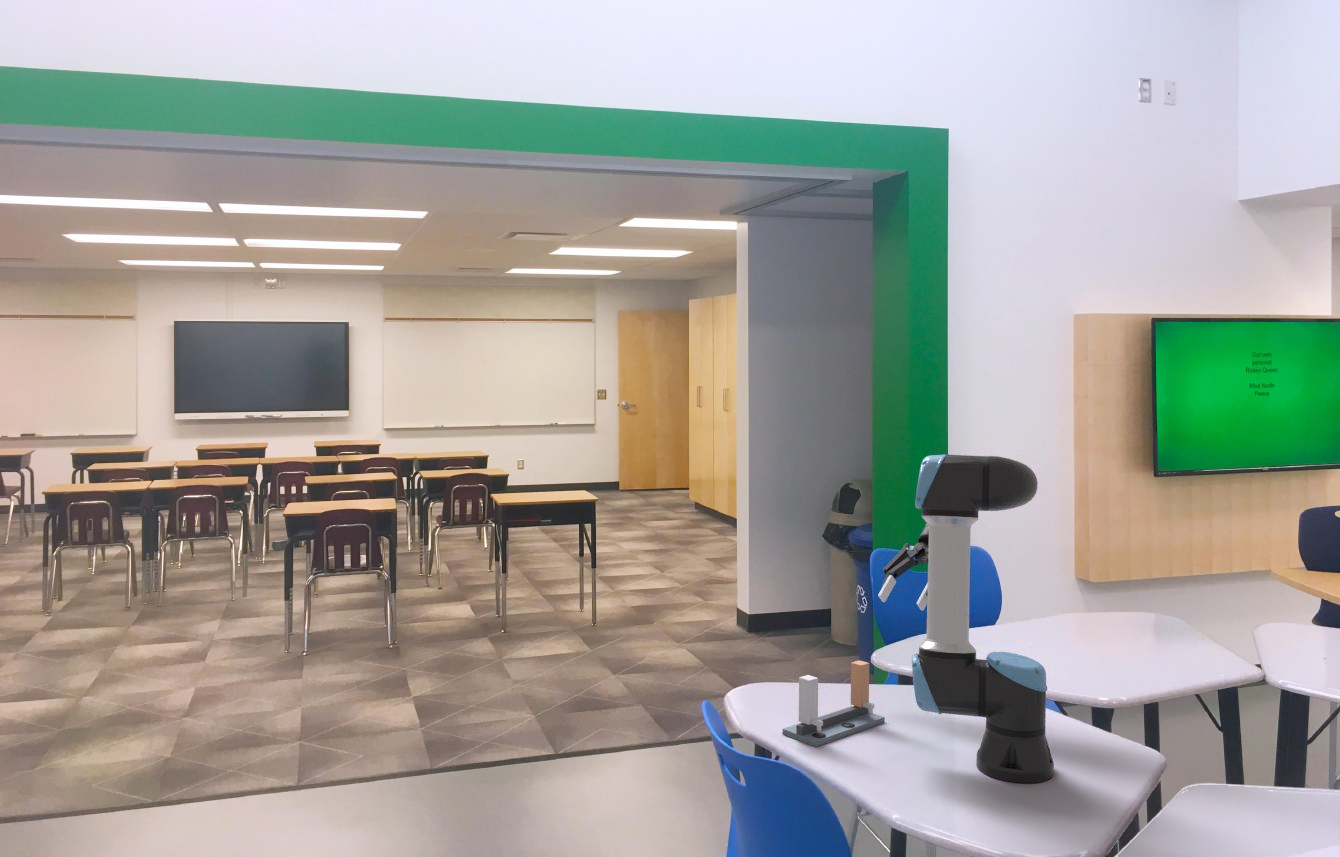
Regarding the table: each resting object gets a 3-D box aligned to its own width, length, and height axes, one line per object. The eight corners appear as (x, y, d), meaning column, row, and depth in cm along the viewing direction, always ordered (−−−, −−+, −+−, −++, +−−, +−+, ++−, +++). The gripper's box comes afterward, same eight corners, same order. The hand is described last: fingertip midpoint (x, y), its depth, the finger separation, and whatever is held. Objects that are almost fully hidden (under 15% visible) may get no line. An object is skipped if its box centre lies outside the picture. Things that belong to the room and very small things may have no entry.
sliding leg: (858, 707, 239) (859, 660, 239) (876, 713, 235) (877, 665, 235) (850, 710, 237) (851, 662, 237) (868, 715, 233) (869, 667, 233)
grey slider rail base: (851, 710, 243) (851, 655, 242) (884, 721, 235) (885, 665, 235) (782, 733, 228) (783, 674, 227) (816, 746, 220) (816, 685, 219)
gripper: (984, 548, 249) (947, 620, 240) (907, 536, 267) (869, 603, 258) (972, 529, 245) (934, 601, 236) (894, 518, 263) (856, 585, 254)
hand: (900, 602), depth 247 cm, fingers open, 11 cm apart
